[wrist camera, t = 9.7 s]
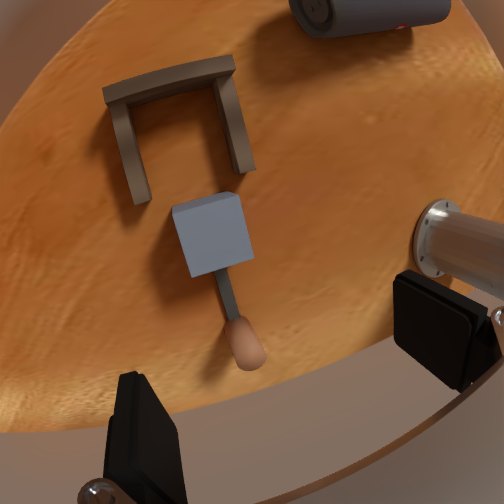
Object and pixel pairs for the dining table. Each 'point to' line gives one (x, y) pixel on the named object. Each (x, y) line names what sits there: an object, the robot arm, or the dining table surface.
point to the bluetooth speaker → (365, 15)
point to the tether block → (220, 262)
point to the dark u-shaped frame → (169, 84)
